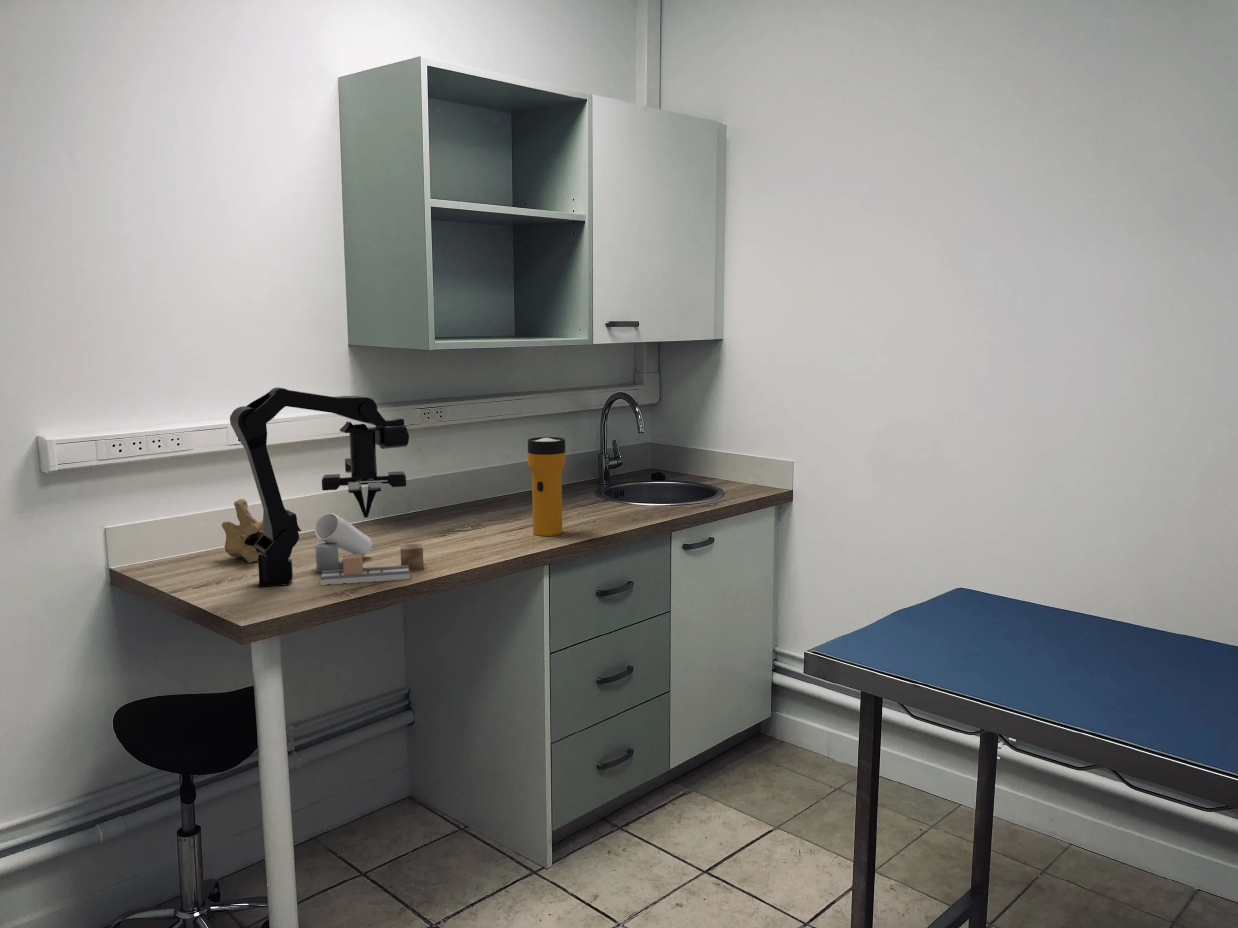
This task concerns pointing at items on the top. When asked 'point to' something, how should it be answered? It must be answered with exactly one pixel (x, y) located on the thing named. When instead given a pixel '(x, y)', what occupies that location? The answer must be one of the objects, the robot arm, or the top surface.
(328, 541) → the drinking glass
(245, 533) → the vertebra
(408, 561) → the walnut block
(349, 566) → the counter slider
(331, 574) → the counter rail
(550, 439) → the flashlight
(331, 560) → the grey upright block
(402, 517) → the top surface
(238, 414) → the robot arm
